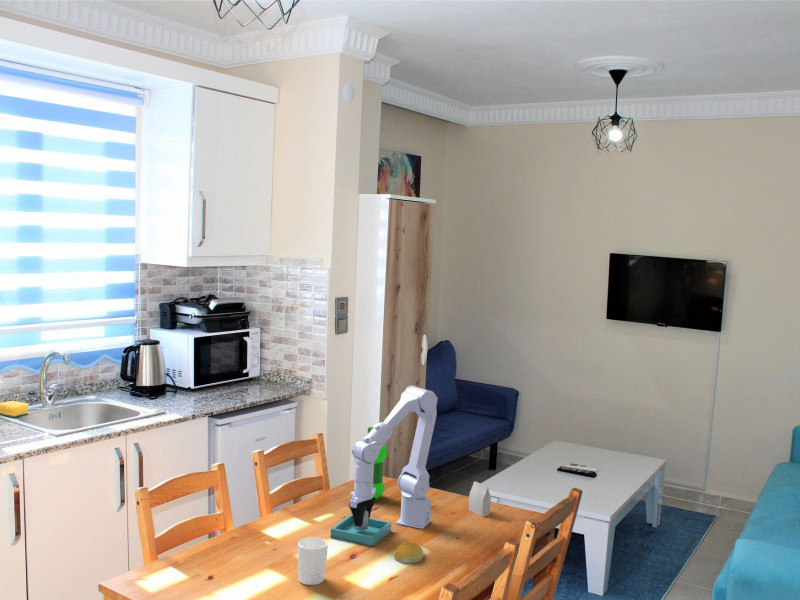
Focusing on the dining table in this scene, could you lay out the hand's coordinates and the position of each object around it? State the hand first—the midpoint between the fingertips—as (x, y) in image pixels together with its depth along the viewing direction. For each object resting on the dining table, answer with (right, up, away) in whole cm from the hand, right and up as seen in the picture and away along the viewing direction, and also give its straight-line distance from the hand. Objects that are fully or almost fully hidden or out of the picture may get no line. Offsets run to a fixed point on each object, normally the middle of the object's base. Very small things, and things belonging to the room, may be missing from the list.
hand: (361, 523), depth 232 cm
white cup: (-12, -6, -32) cm, 35 cm away
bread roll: (+14, -6, -15) cm, 21 cm away
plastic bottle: (+1, -1, +33) cm, 33 cm away
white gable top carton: (+39, -4, +24) cm, 46 cm away
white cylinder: (0, -1, 0) cm, 2 cm away
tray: (0, -3, 0) cm, 3 cm away
